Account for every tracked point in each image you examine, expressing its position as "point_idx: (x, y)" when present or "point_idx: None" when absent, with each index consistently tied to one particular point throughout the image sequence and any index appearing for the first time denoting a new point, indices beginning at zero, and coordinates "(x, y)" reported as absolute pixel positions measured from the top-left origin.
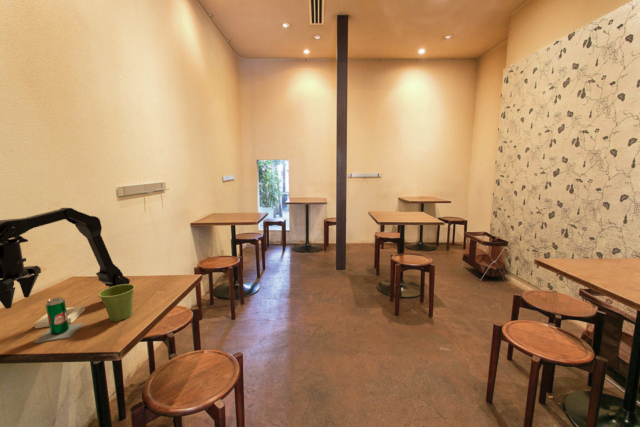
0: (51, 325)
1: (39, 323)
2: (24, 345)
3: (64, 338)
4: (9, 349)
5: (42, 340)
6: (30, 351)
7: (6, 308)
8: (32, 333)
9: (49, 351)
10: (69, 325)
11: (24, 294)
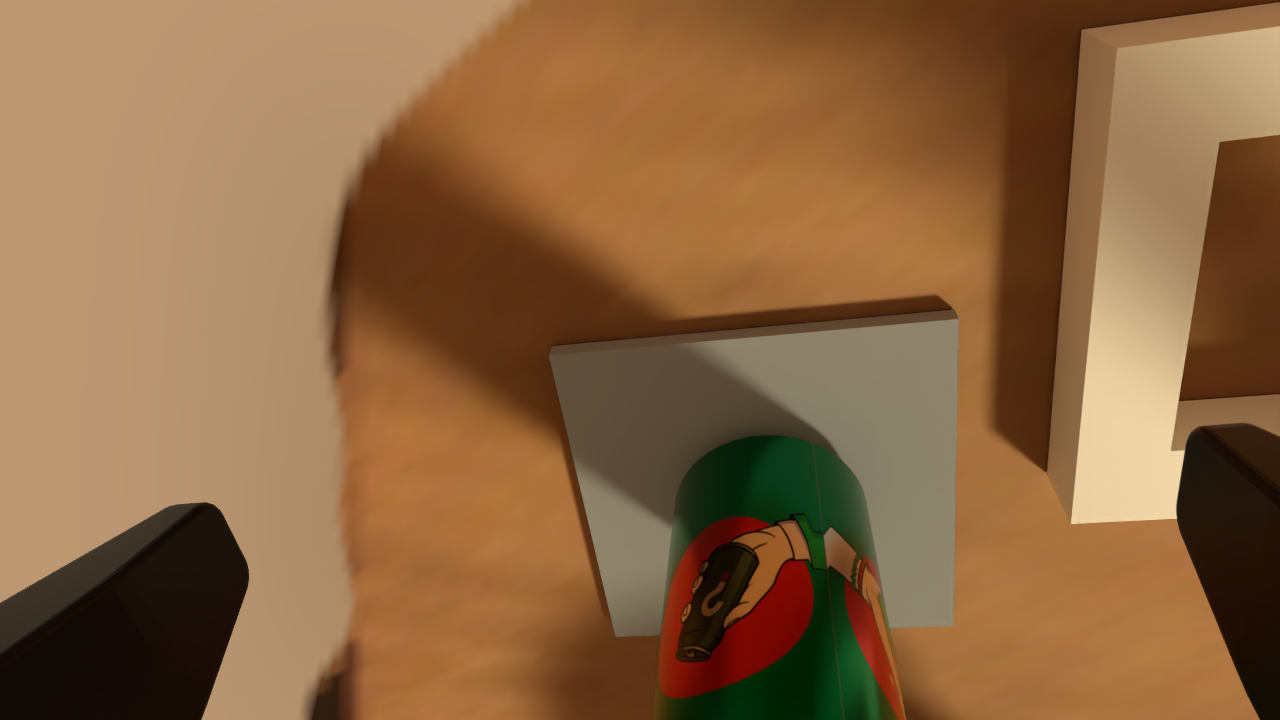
0: (667, 573)
1: (1100, 128)
2: (523, 254)
3: (608, 590)
4: (443, 127)
5: (573, 427)
6: (385, 412)
7: (180, 513)
8: (878, 118)
9: (379, 578)
10: (925, 519)
11: (1259, 524)
